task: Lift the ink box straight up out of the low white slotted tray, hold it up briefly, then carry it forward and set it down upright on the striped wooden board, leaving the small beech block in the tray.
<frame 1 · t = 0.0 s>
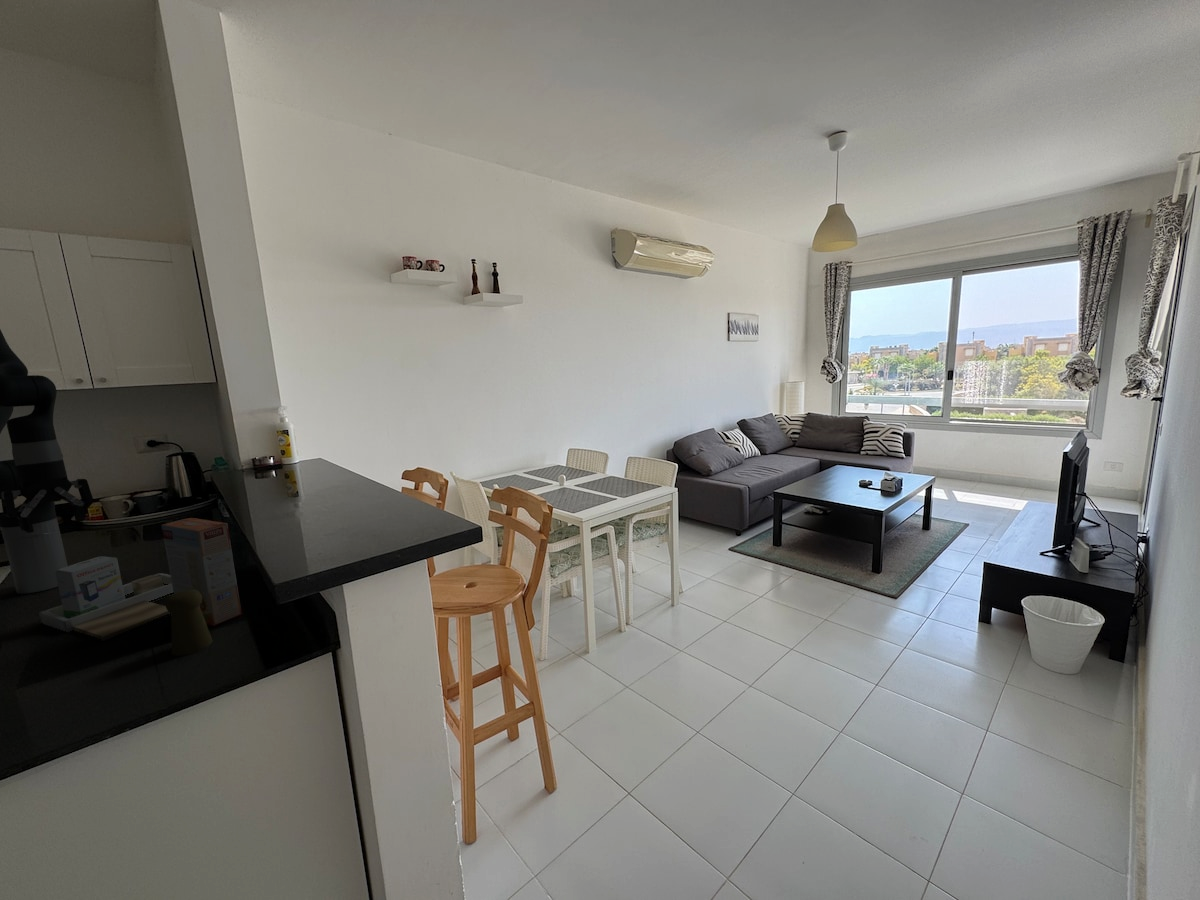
hand: (55, 526, 116), 17 cm above the counter, tool pointing down, fingers open, 8 cm apart
cracker box: (210, 616, 105), on the counter
white slotted tray: (120, 604, 111), on the counter
ink box: (97, 613, 108), resting in white slotted tray
striped wooden board: (126, 621, 103), on the counter
pepper shaker: (192, 647, 92), on the counter
beech block: (149, 594, 116), resting in white slotted tray
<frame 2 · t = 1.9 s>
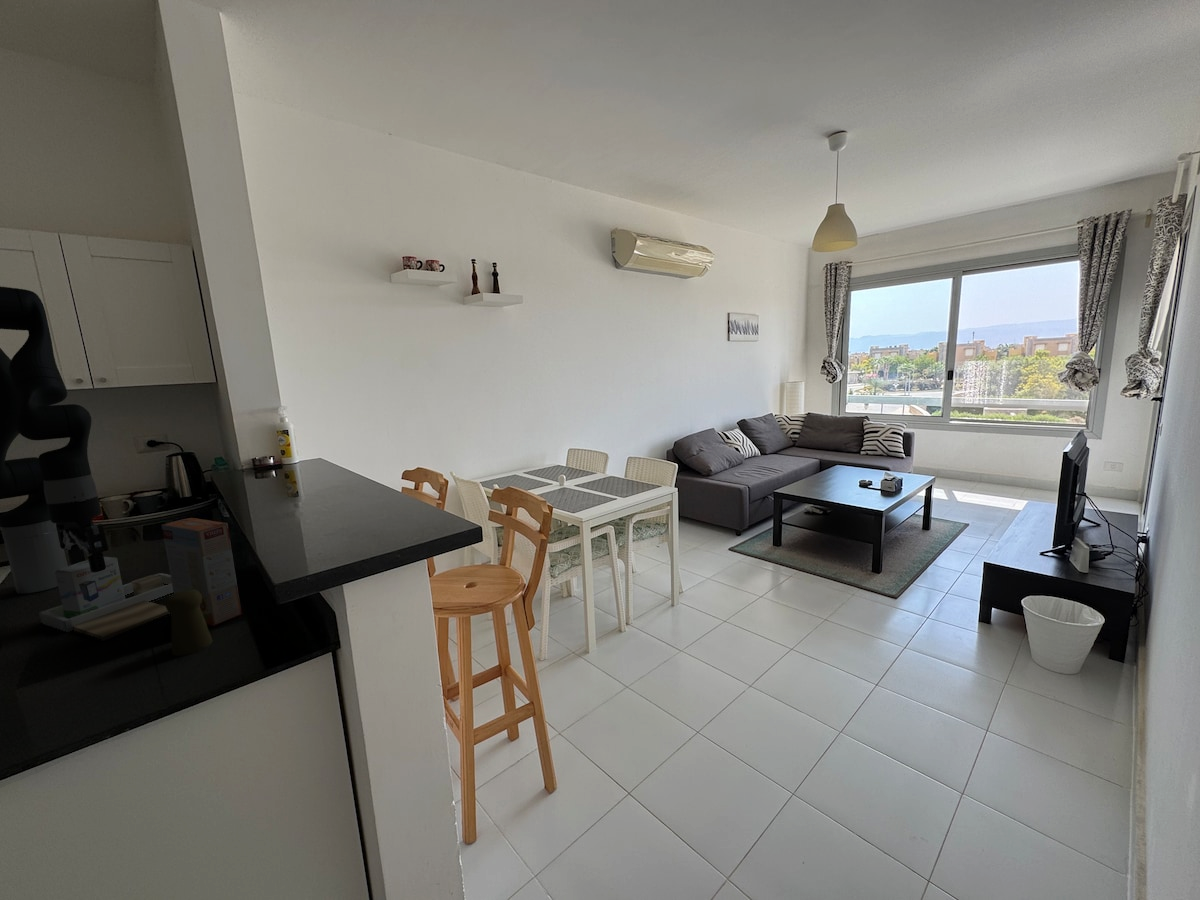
hand: (88, 568, 106), 10 cm above the counter, tool pointing down, fingers open, 8 cm apart
nothing on the counter moved.
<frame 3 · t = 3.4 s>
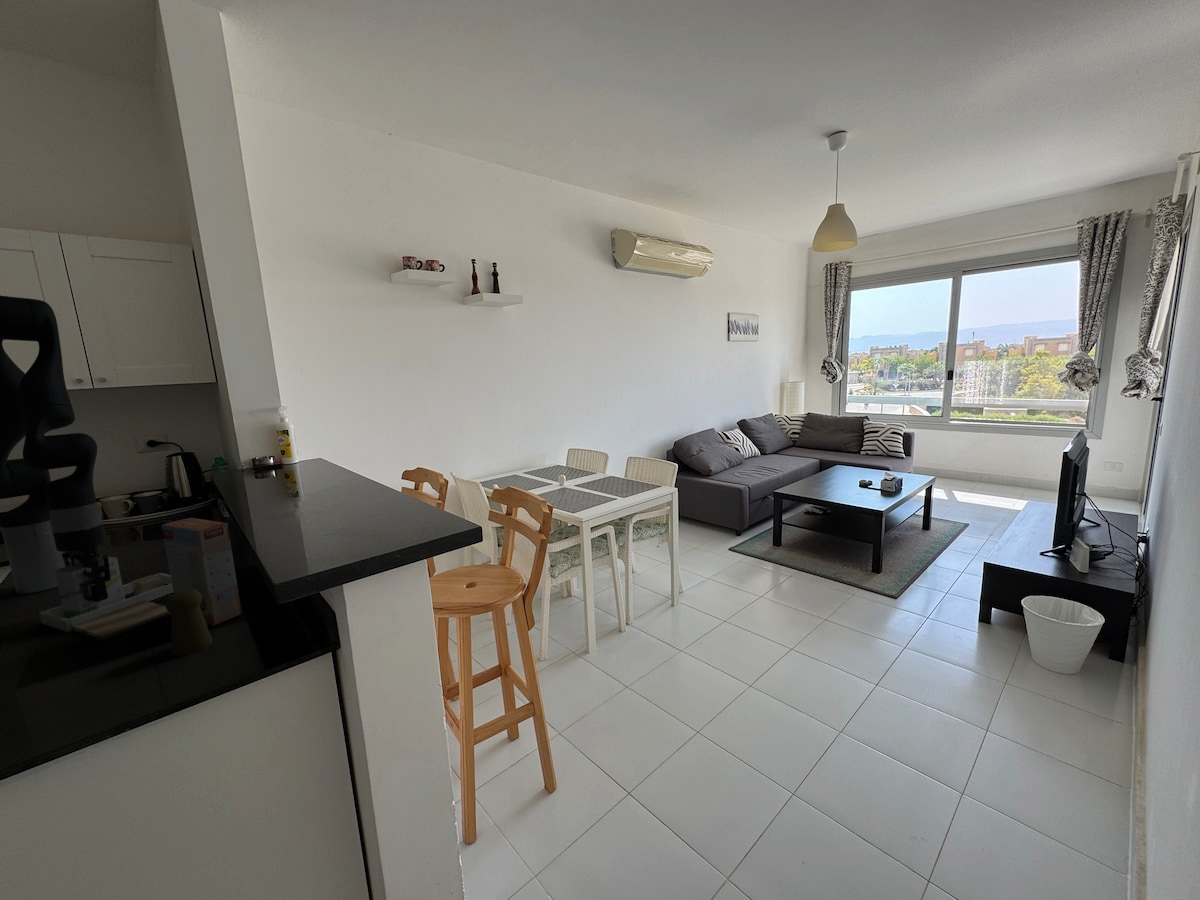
hand: (93, 597, 107), 4 cm above the counter, tool pointing down, fingers closed on ink box, 5 cm apart
ink box: (97, 613, 108), resting in white slotted tray, touching gripper
everything else where it was.
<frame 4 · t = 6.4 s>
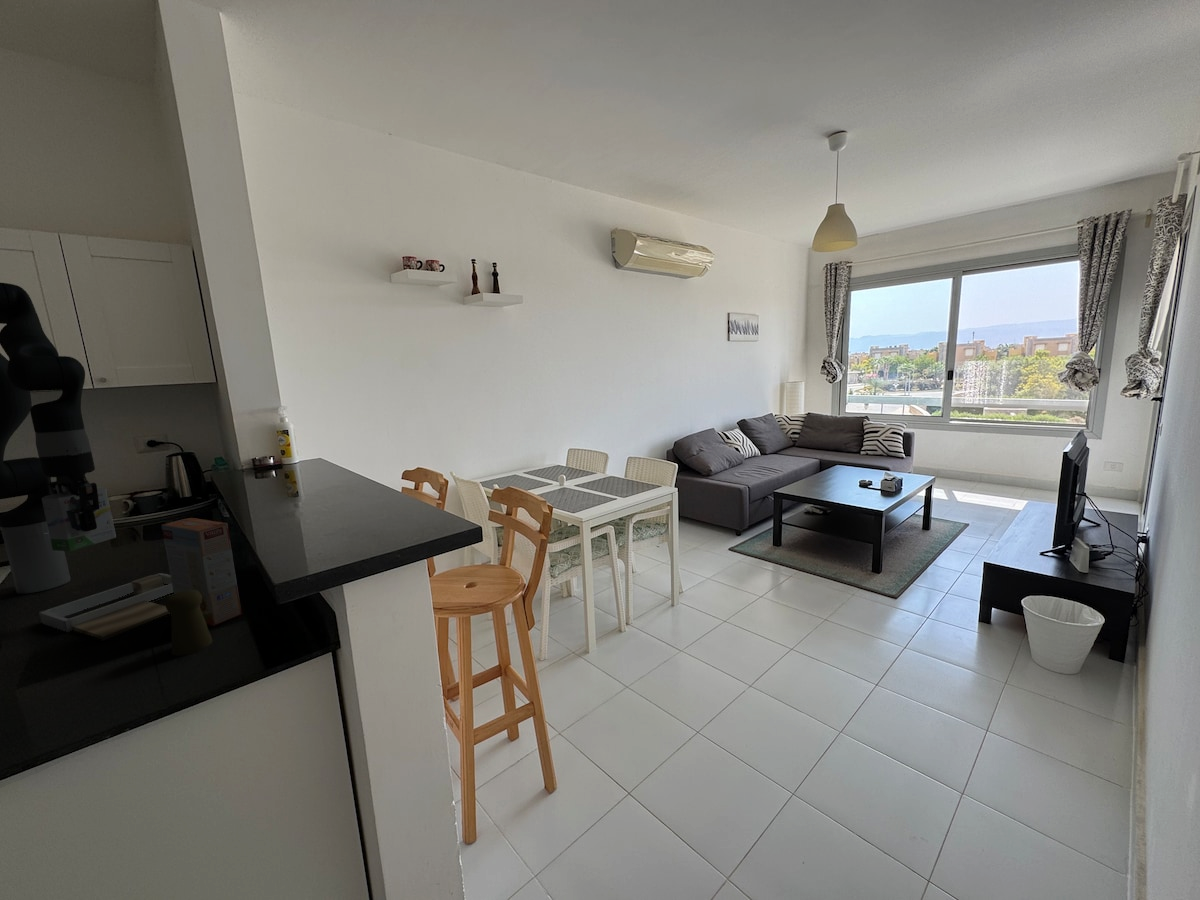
hand: (82, 528, 104), 20 cm above the counter, tool pointing down, fingers closed on ink box, 5 cm apart
ink box: (86, 545, 104), point 16 cm above the counter, touching gripper
everything else where it was.
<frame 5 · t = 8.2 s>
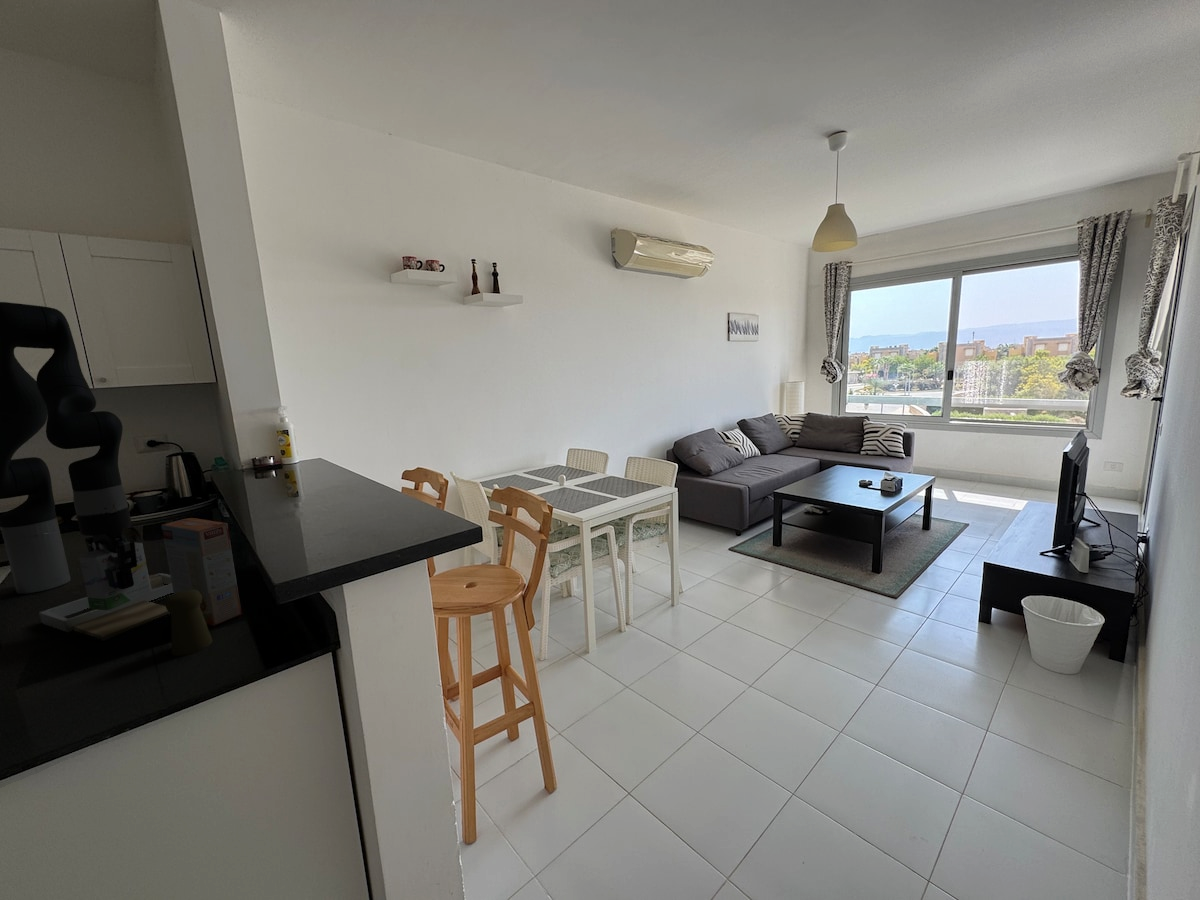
hand: (118, 585, 102), 8 cm above the counter, tool pointing down, fingers closed on ink box, 5 cm apart
ink box: (122, 601, 102), point 5 cm above the counter, touching gripper
everything else where it was.
when the fingers open (5 cm above the counter, at t = 9.5 s): ink box stays where it is, resting on striped wooden board.
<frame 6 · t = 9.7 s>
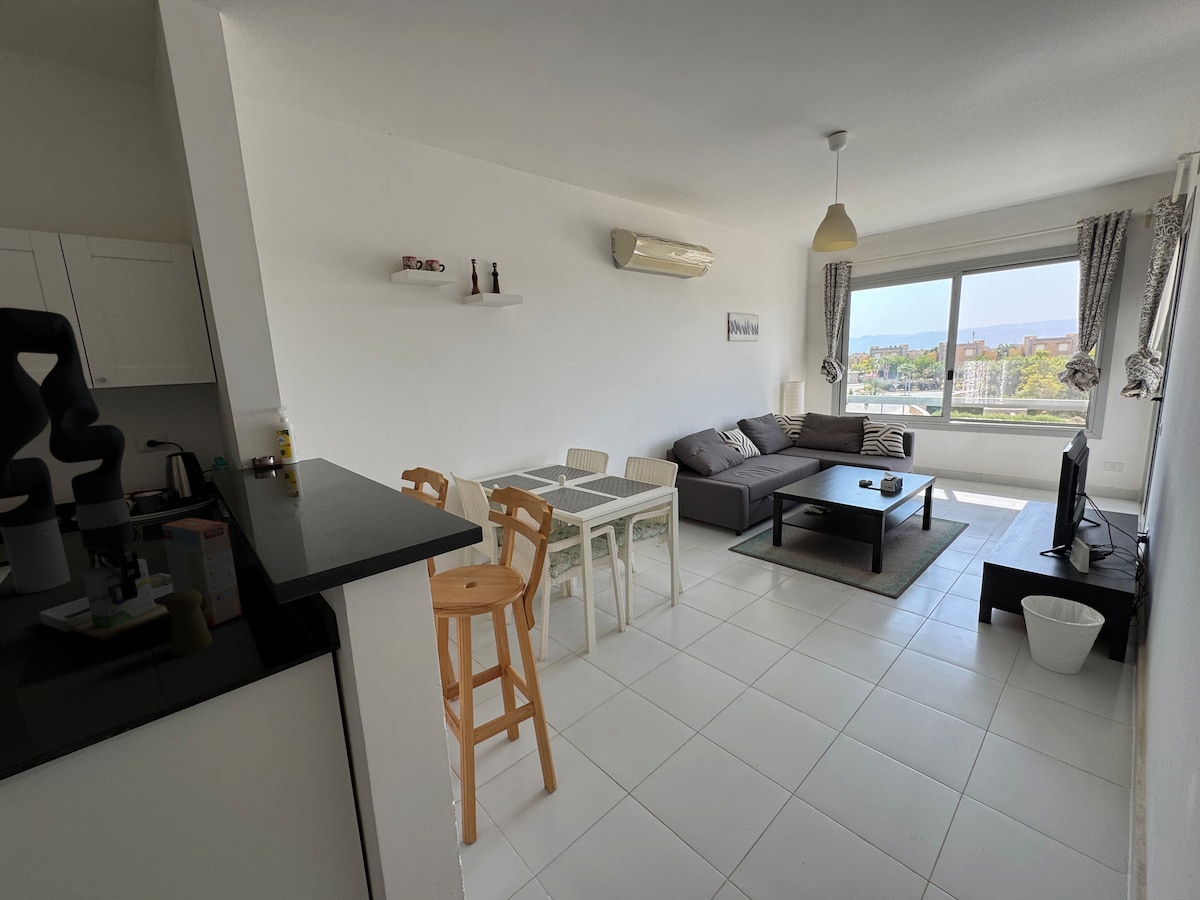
hand: (120, 595, 102), 6 cm above the counter, tool pointing down, fingers open, 7 cm apart
ink box: (125, 618, 103), point 1 cm above the counter, touching striped wooden board
everything else where it was.
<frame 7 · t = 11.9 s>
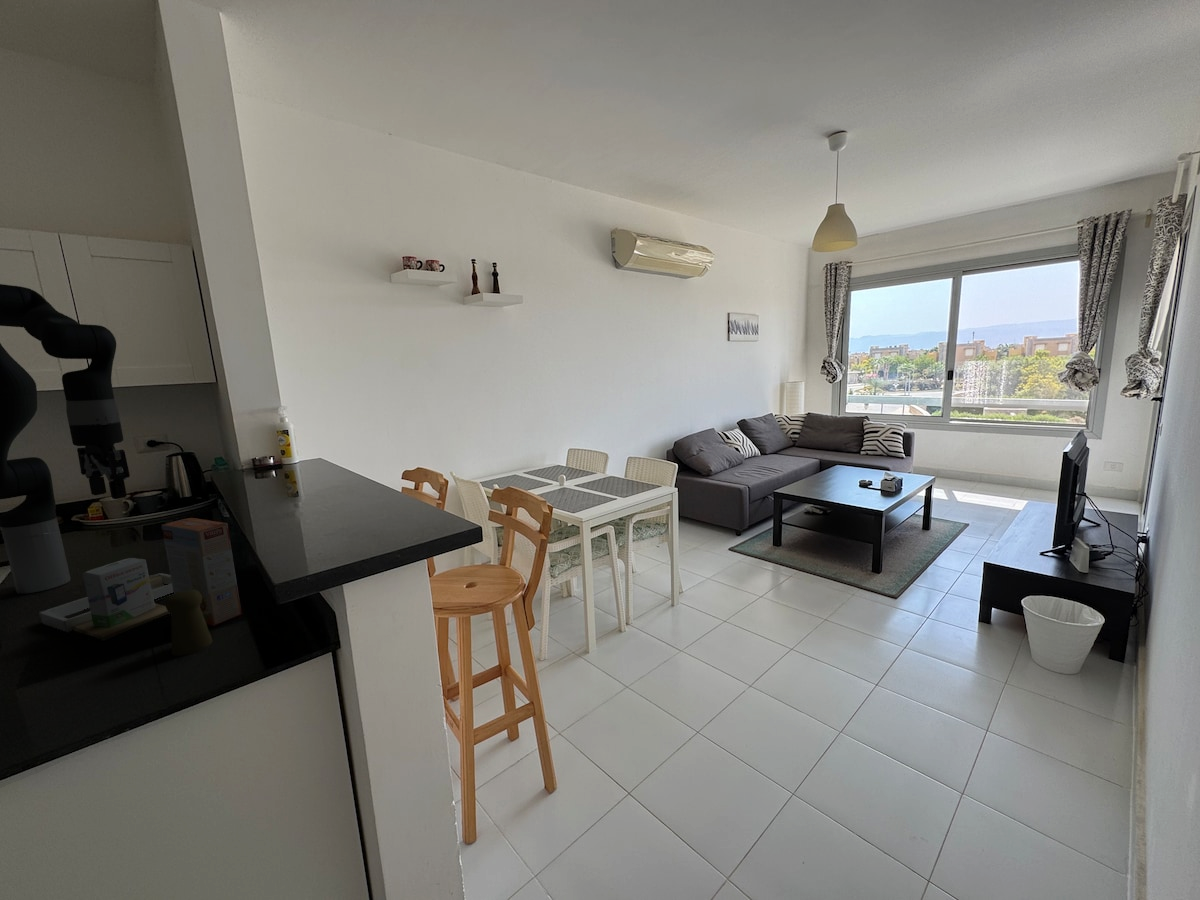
hand: (109, 496, 104), 27 cm above the counter, tool pointing down, fingers open, 8 cm apart
nothing on the counter moved.
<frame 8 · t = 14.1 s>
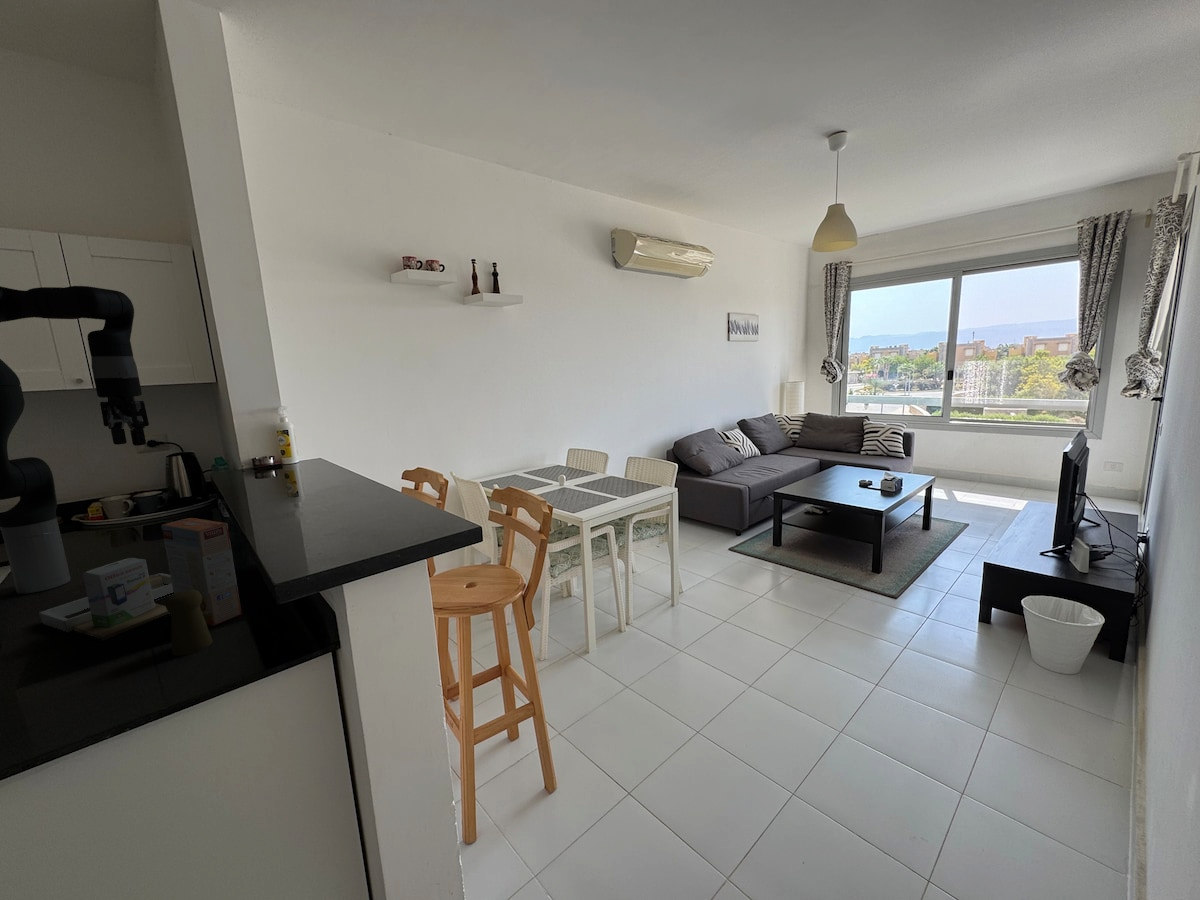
hand: (130, 444, 115), 36 cm above the counter, tool pointing down, fingers open, 8 cm apart
nothing on the counter moved.
at the end: ink box inside the target area on the striped wooden board (0.1 cm from its centre), point 0.8 cm above the striped wooden board's base; ink box tilted 0°; the gripper is holding nothing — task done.
